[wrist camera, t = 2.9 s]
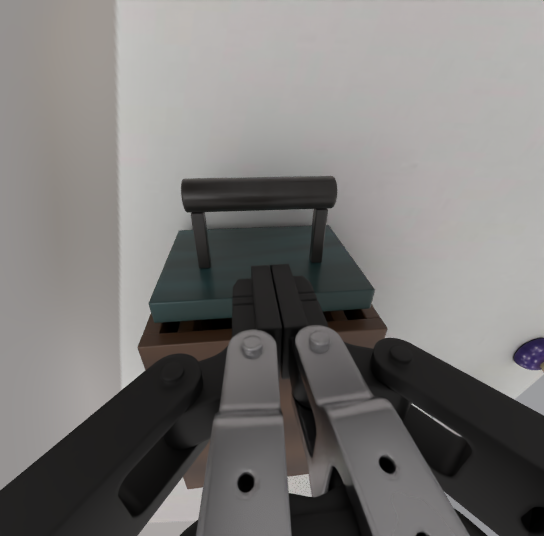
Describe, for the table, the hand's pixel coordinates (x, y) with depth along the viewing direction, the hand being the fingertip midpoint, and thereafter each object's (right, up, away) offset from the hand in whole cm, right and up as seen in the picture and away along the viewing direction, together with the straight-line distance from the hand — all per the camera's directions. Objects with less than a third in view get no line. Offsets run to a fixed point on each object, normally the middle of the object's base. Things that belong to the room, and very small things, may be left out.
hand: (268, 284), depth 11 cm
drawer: (-1, 0, +10) cm, 10 cm away
